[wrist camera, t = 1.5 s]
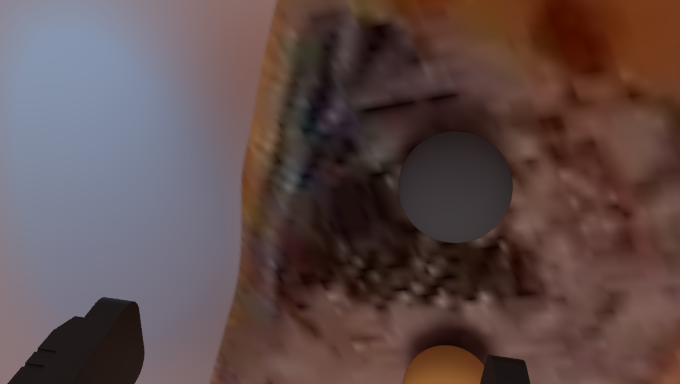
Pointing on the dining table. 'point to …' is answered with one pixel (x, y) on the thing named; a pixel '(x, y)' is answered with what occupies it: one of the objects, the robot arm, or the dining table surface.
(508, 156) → the dining table surface
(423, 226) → the gray ball
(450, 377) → the orange ball
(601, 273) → the dining table surface
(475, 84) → the dining table surface
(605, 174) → the dining table surface
